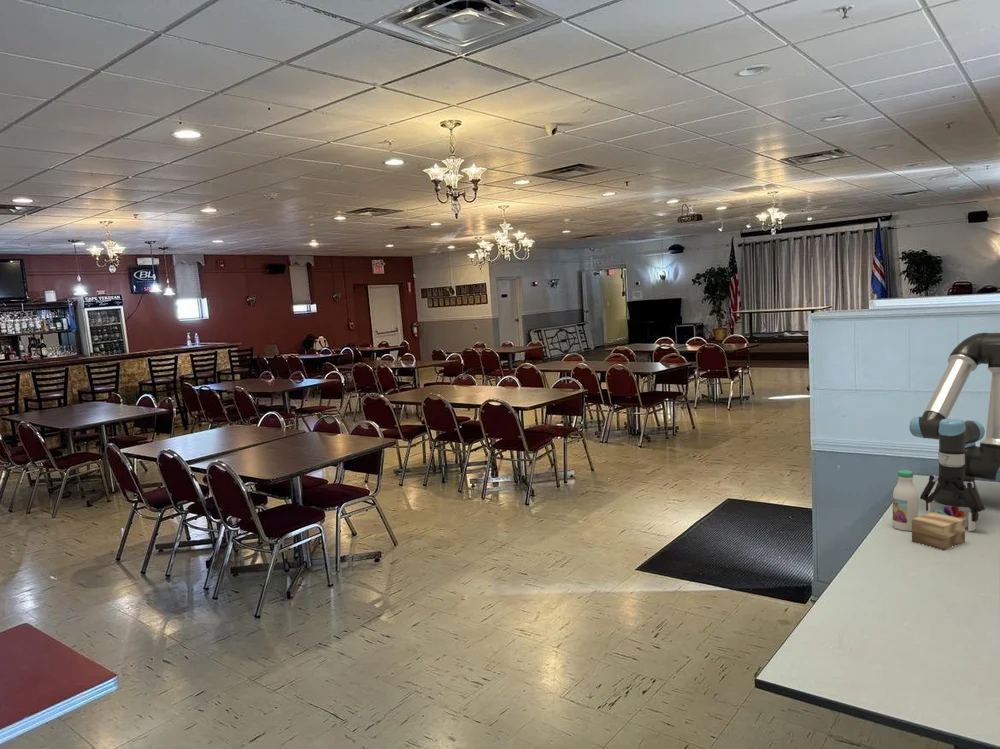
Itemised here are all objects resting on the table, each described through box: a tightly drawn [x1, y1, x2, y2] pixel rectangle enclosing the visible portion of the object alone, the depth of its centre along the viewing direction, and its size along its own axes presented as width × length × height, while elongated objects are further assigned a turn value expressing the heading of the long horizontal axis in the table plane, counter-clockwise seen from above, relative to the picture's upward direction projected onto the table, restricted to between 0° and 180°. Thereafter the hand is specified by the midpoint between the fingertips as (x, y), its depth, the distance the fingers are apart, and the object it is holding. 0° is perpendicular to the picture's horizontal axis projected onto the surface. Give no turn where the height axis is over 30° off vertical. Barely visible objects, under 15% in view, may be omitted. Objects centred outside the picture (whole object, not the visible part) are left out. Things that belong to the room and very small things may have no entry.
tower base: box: [911, 531, 966, 551], centre depth 227 cm, size 12×10×4 cm
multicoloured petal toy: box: [937, 505, 969, 529], centre depth 240 cm, size 8×10×7 cm
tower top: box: [911, 511, 966, 539], centre depth 226 cm, size 12×10×4 cm
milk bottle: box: [892, 469, 919, 532], centre depth 241 cm, size 8×8×20 cm
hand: (951, 525), depth 240 cm, fingers open, 13 cm apart
